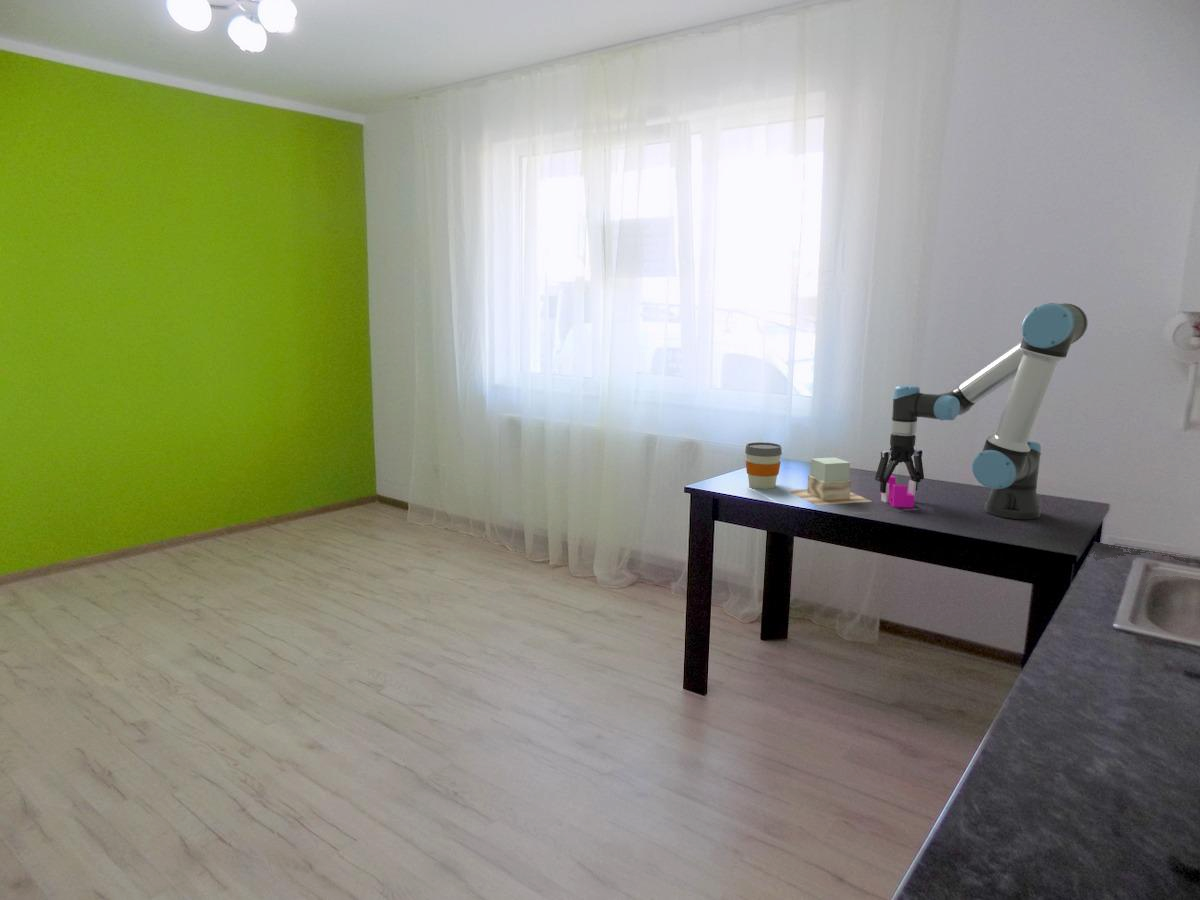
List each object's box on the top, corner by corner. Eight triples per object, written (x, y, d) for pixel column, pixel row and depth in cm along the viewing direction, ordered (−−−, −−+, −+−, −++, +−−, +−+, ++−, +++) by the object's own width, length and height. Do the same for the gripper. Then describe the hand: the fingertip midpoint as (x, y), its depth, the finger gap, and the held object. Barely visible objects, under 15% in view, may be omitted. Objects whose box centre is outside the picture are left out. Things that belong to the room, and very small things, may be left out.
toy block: (913, 509, 237) (915, 486, 236) (893, 509, 238) (894, 486, 237) (899, 498, 252) (901, 476, 251) (880, 497, 253) (882, 475, 251)
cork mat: (872, 503, 245) (872, 501, 244) (816, 506, 240) (816, 505, 240) (839, 488, 264) (839, 487, 264) (786, 492, 259) (786, 490, 259)
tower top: (848, 480, 247) (849, 462, 246) (824, 481, 245) (825, 464, 244) (834, 474, 256) (835, 457, 255) (810, 476, 254) (811, 458, 253)
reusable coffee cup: (762, 481, 275) (763, 441, 272) (787, 488, 265) (789, 446, 262) (736, 485, 268) (737, 444, 266) (761, 493, 258) (763, 450, 255)
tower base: (849, 498, 248) (851, 480, 247) (822, 500, 246) (823, 482, 245) (833, 491, 258) (834, 474, 257) (807, 493, 255) (808, 475, 254)
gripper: (925, 430, 248) (919, 496, 252) (866, 433, 243) (861, 500, 247) (940, 434, 240) (934, 502, 245) (880, 436, 235) (874, 506, 240)
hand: (897, 501), depth 246 cm, fingers open, 9 cm apart
